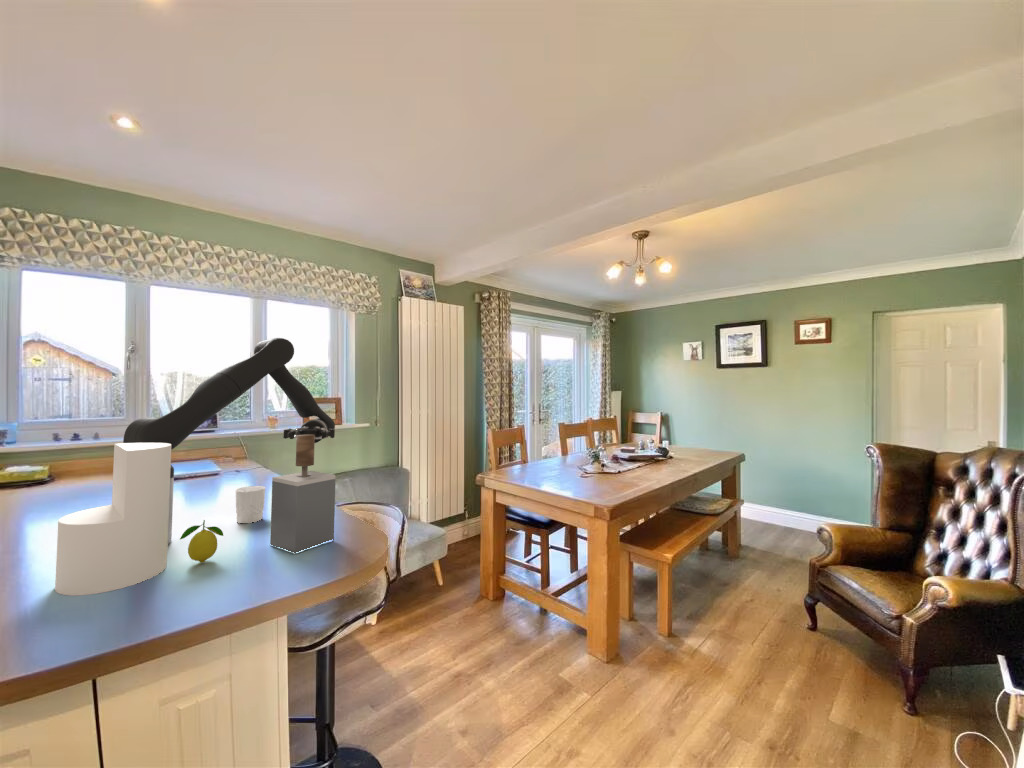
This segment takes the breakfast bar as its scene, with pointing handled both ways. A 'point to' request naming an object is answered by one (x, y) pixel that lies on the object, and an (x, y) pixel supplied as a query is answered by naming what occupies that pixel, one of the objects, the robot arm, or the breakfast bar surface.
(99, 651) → the breakfast bar surface
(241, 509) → the white cup
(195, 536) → the lemon
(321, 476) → the grey upright block
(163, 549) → the white stepped oval block
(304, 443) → the plunger
